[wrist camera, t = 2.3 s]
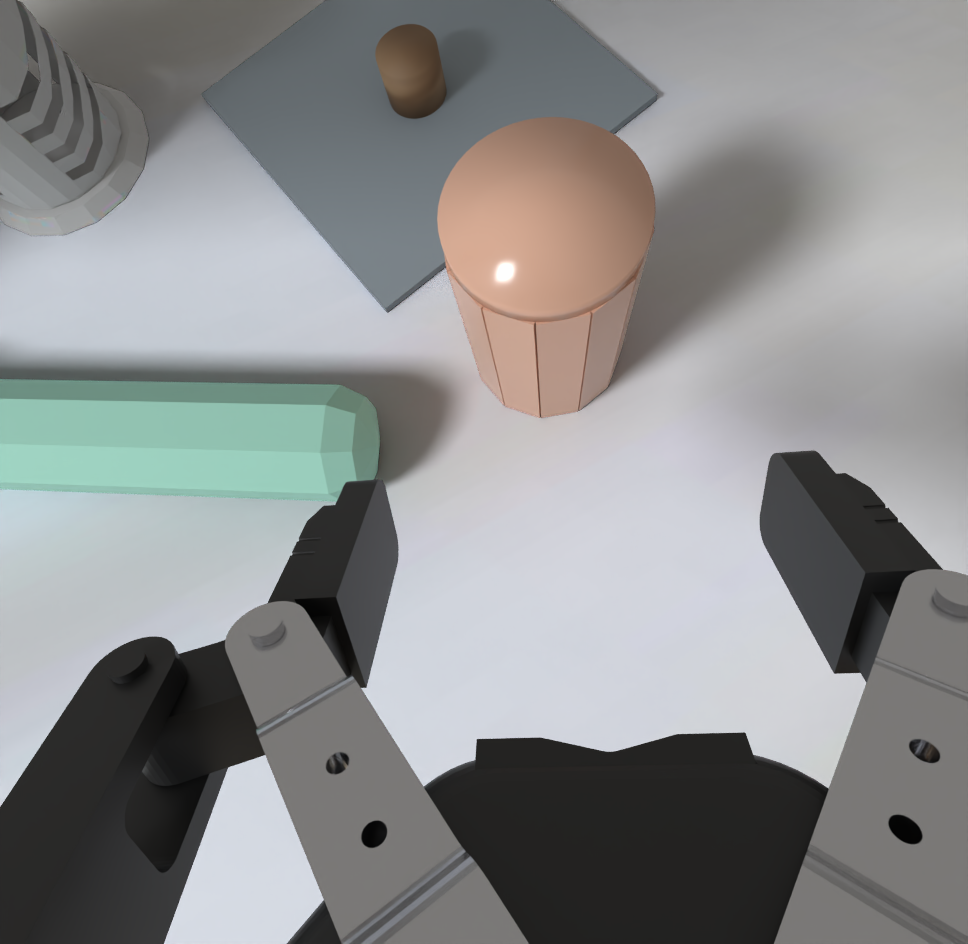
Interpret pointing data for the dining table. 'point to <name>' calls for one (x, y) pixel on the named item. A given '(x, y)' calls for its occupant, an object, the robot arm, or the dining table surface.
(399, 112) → the brown capsule cylinder
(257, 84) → the slate mat
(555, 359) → the cup
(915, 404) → the dining table surface
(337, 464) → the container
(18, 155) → the french press
